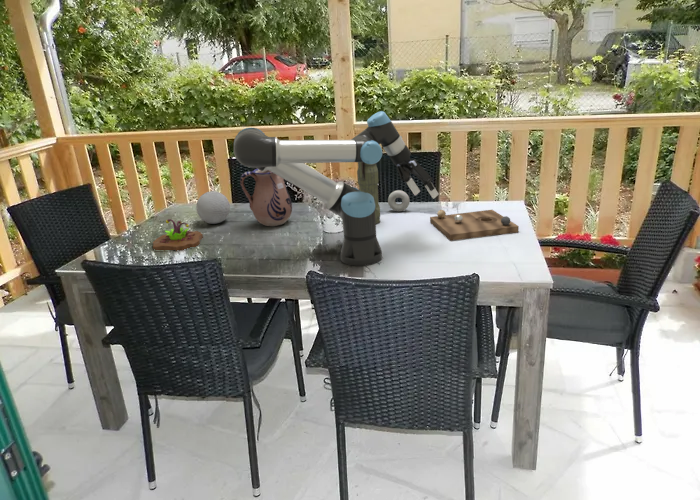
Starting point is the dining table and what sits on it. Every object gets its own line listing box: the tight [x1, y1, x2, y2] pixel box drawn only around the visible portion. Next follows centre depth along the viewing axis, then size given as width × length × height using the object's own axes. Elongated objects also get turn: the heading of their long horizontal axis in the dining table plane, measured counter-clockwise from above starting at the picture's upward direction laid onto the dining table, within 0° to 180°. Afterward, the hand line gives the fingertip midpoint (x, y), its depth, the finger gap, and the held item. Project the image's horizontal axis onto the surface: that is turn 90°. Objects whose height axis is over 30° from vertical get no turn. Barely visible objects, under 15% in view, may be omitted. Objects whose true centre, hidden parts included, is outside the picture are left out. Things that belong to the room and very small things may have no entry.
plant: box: [152, 218, 204, 252], centre depth 217 cm, size 20×20×11 cm
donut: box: [387, 189, 410, 212], centre depth 238 cm, size 10×4×10 cm, turn 77°
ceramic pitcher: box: [239, 168, 293, 227], centre depth 230 cm, size 18×21×25 cm
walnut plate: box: [429, 209, 520, 242], centre depth 212 cm, size 28×24×2 cm
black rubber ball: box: [501, 216, 511, 225], centre depth 204 cm, size 4×4×4 cm
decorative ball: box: [196, 190, 231, 225], centre depth 239 cm, size 15×15×15 cm
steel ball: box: [454, 215, 463, 223], centre depth 210 cm, size 4×4×4 cm
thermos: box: [356, 162, 381, 225], centre depth 221 cm, size 9×12×35 cm
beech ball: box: [436, 209, 447, 218], centre depth 218 cm, size 4×4×4 cm
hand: (426, 194), depth 200 cm, fingers open, 13 cm apart
